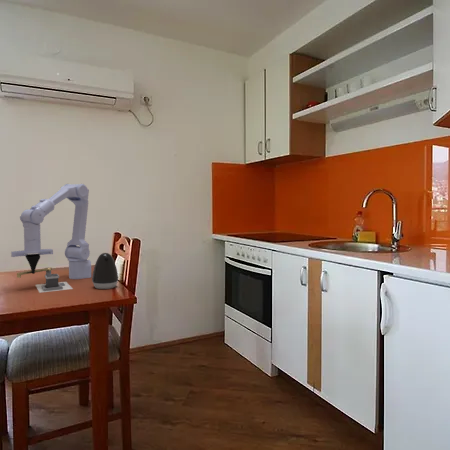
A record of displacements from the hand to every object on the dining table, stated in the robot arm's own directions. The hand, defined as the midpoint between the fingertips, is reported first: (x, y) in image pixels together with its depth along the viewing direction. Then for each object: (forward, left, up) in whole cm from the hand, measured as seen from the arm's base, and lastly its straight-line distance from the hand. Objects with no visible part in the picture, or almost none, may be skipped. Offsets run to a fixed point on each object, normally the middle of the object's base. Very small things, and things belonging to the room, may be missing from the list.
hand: (33, 273), depth 140 cm
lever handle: (-1, -3, -1) cm, 3 cm away
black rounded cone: (-25, +12, -7) cm, 29 cm away
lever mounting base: (-7, +1, -7) cm, 10 cm away
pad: (-10, -1, -6) cm, 12 cm away
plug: (-6, +4, -6) cm, 10 cm away
